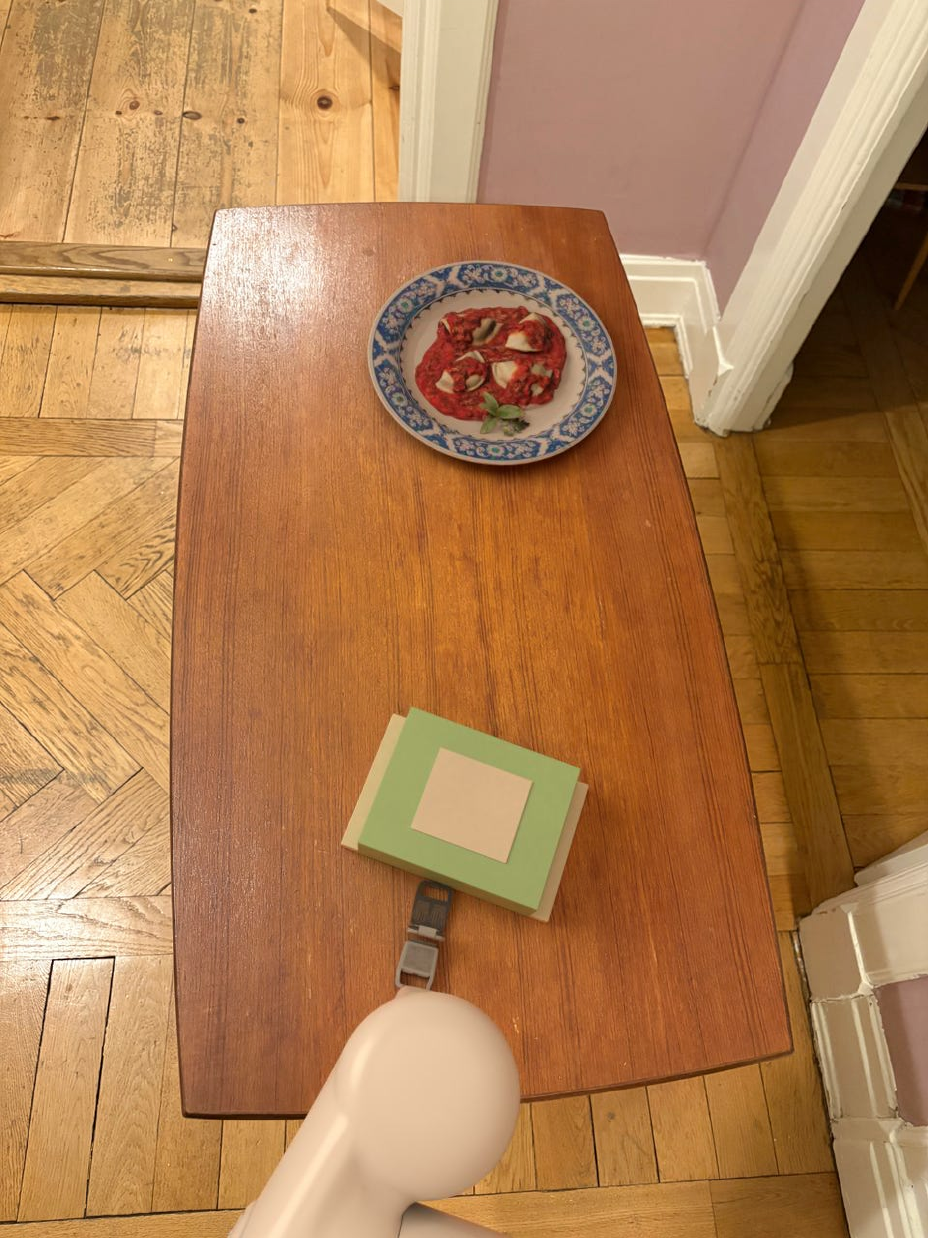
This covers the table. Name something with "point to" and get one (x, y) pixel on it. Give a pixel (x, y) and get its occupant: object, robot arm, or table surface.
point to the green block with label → (469, 812)
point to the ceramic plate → (492, 362)
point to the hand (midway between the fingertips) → (397, 1080)
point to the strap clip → (424, 935)
